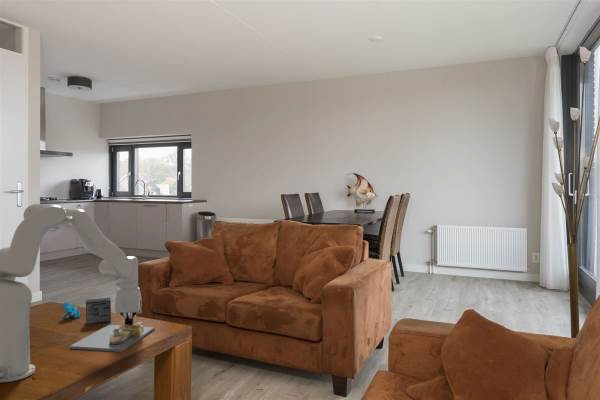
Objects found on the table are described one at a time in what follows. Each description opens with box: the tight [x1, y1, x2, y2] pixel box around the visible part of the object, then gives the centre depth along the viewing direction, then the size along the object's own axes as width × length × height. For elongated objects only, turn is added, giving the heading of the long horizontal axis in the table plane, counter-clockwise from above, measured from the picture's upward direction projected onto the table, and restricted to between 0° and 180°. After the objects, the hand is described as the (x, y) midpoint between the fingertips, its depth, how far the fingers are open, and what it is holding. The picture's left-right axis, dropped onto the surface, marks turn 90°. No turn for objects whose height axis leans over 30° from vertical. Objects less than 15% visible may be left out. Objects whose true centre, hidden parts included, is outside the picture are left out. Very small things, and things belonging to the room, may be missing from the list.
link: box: [110, 321, 144, 344], centre depth 178 cm, size 20×5×5 cm, turn 168°
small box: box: [85, 297, 112, 326], centre depth 200 cm, size 11×6×10 cm, turn 113°
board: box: [69, 324, 156, 353], centre depth 179 cm, size 26×22×1 cm
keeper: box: [119, 323, 145, 338], centre depth 178 cm, size 4×9×4 cm, turn 82°
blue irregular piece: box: [61, 301, 81, 319], centre depth 206 cm, size 11×6×10 cm
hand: (128, 327), depth 185 cm, fingers closed
